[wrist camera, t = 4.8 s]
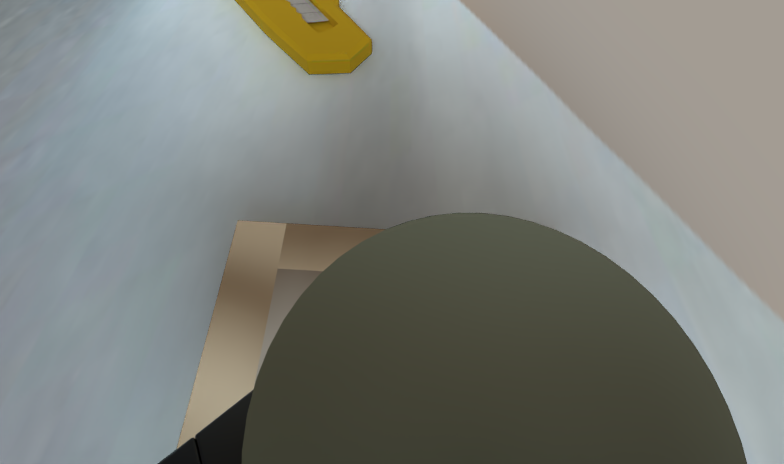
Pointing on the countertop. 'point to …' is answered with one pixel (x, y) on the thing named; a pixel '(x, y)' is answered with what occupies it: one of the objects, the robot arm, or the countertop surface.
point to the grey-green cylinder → (483, 358)
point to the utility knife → (312, 33)
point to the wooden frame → (258, 306)
